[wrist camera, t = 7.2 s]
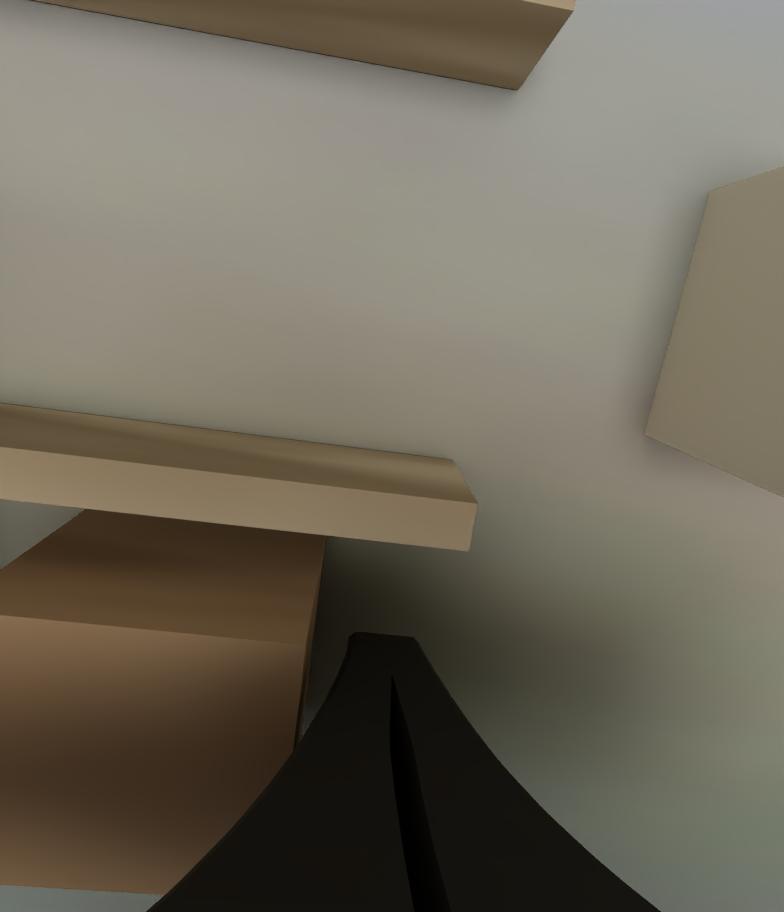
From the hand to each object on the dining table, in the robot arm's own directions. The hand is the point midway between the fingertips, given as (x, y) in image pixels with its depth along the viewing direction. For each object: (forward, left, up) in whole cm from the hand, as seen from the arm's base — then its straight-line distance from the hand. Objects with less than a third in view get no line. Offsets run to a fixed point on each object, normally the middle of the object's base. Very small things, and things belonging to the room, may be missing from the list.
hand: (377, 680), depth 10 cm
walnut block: (0, +4, -2) cm, 4 cm away
